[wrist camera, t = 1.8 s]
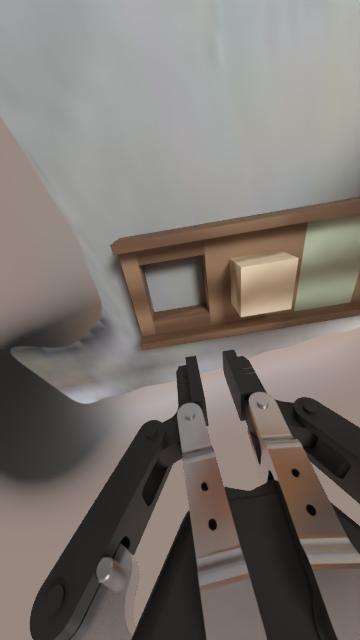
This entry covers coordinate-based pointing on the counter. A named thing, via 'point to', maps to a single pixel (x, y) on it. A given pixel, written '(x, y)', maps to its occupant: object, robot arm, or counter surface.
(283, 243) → the walnut track
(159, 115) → the counter surface
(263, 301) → the maple block
